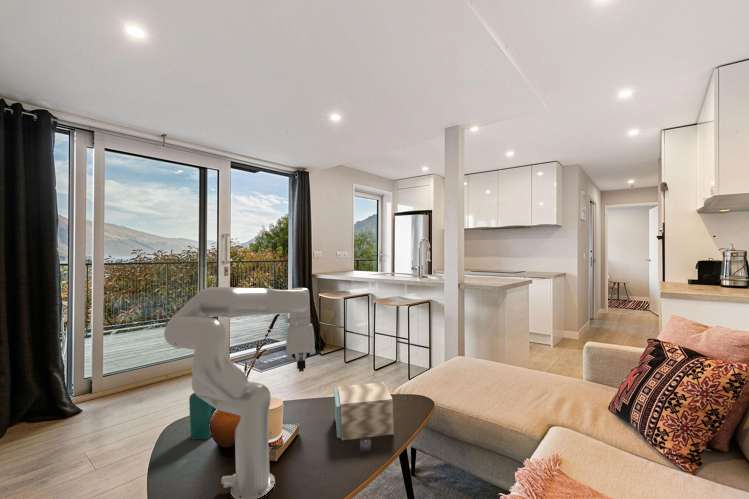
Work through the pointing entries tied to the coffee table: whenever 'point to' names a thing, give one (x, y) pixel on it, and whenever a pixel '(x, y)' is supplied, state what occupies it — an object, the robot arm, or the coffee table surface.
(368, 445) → the stand
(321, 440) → the coffee table surface
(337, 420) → the drawer
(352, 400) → the cabinet
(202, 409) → the teal bottle vase
